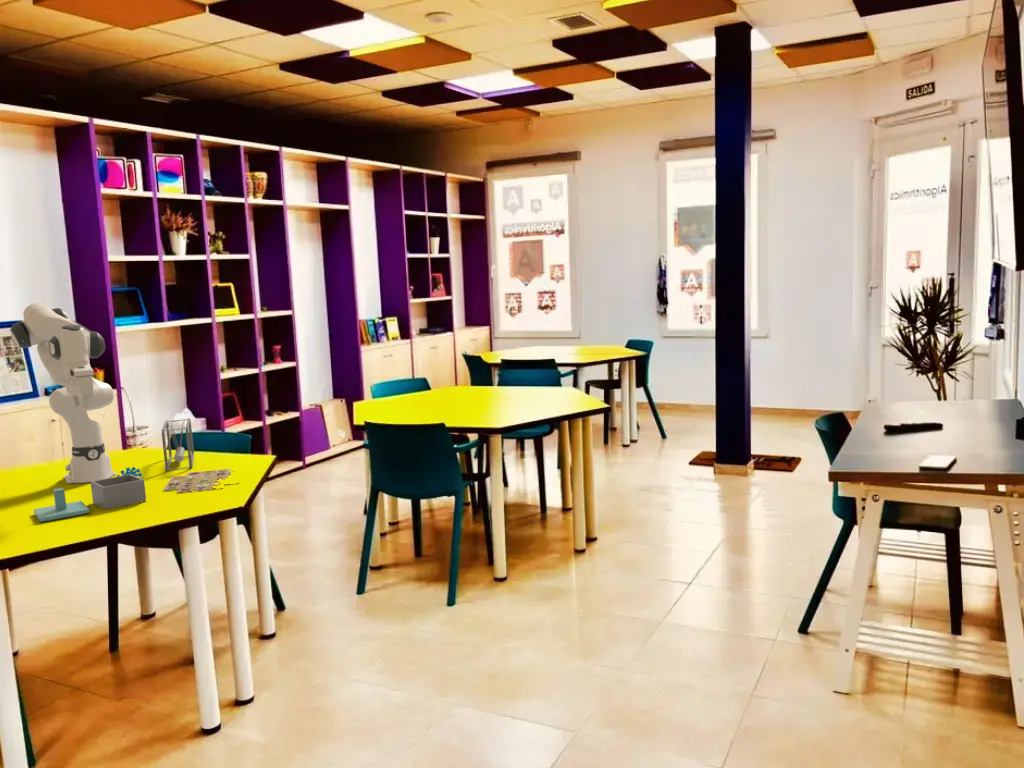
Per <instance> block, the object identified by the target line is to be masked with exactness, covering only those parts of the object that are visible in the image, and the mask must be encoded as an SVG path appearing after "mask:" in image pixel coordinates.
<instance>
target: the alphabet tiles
mask: <svg viewBox="0 0 1024 768" xmlns="http://www.w3.org/2000/svg"><path fill="white" fill-rule="evenodd" d="M229 471H230V472H229ZM231 472H235V470H234V471H231V468H226V469H225V468H224V469H216V470H214V469H213V470H203V471H192V472H191V471H190V472H187V474H186V475H181V476H179V475H178V476H171V478H170V479H169V481H168V482H167V483H166V484H165V486H164V488H163V490H162V492H163V491H167V492H171V491H170V490H177V491H176V494H177V493H180V494H184V493H183V492H190V493H193V492H192V491H199V492H203V491H202V490H208V491H210V490H209V489H216V488H213V487H212V486H218V485H220V484H221V483H220V484H218V485H215V484H213V483H219V482H220V481H219V482H218V481H217V480H219V479H222V480H223V479H224V480H225V478H228V477H227V476H230V475H231ZM206 484H207V485H206ZM205 485H206V486H205Z"/></svg>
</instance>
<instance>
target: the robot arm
mask: <svg viewBox="0 0 1024 768" xmlns="http://www.w3.org/2000/svg"><path fill="white" fill-rule="evenodd" d="M22 313H23V320H20V321H19V320H18V321H17V322H16V323H14V324H13V325H12V326H11V327H10V330H9V331H10V337H11V340H12V341H13V343H14V344H15V345H17V346H18V347H20V348H21V349H27V348H32V346H35V345H37V346H36V350H37V353H38V356H39V359H40V361H41V362H42V365H43V366H44V368H45V369H46V370H47V371H46V372H47V373H48V374H49V376H50V377H51V379H52V381H54V383H55V384H57V385H58V386H62V387H61V388H58V389H56V390H53V391H52V392H51V393H50V394H49V395H50V396H49V399H48V403H49V406H50V408H51V410H52V411H53V412H54V413H55V414H57V415H59V416H60V417H62V418H63V420H64V421H65V422H66V423H67V426H68V428H69V432H70V437H71V443H72V447H71V456H72V457H71V459H70V461H69V463H68V464H67V465H64V466H65V472H68V473H67V474H64V476H63V477H64V480H65V483H66V484H81V483H82V484H83V483H84V484H85V483H91V481H97V480H102V479H107V478H112V477H113V476H115V475H116V476H117V471H113V470H112V463H111V459H110V457H111V456H110V455H109V454H107V453H106V446H105V443H104V442H103V441H104V440H103V433H102V426H101V424H100V423H99V422H97V421H96V420H94V419H91V418H90V417H89V414H88V412H89V411H94V410H99V409H103V408H105V407H107V406H110V405H112V404H113V400H114V399H115V398H114V397H115V393H114V389H113V388H112V386H111V385H110V384H109V383H108V382H107V383H106V382H103V381H100V380H99V379H97V378H95V377H94V369H93V368H92V367H91V364H90V362H91V361H90V359H99V358H100V356H102V354H103V353H104V352H105V351H106V343H105V339H104V337H103V336H102V335H101V334H100V333H99V332H97V331H96V330H95V331H92V330H90V329H88V328H87V327H86V326H83V324H81V323H78V322H77V321H75V320H72V319H70V316H69V315H68V313H67V312H65V310H63V309H62V308H59V307H57V308H56V307H55V308H50V307H49V306H47V305H45V304H43V303H39V302H36V303H32V304H29V305H28V306H27V307H26V308H24V311H23V312H22Z"/></svg>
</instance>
